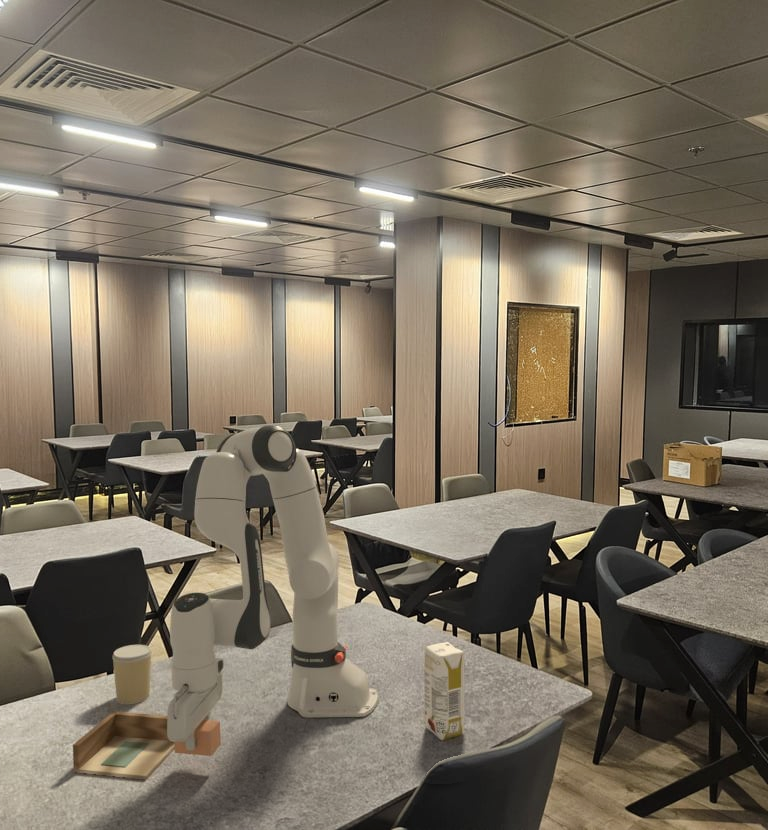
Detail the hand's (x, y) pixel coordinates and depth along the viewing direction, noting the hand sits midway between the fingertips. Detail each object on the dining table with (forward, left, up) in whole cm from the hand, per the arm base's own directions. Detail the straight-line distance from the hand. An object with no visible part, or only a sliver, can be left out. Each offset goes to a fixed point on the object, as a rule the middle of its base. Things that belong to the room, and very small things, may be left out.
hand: (197, 740), depth 149 cm
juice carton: (-48, -24, -6) cm, 55 cm away
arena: (+17, -2, -6) cm, 18 cm away
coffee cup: (+31, -28, -6) cm, 42 cm away
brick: (0, 0, -2) cm, 2 cm away
